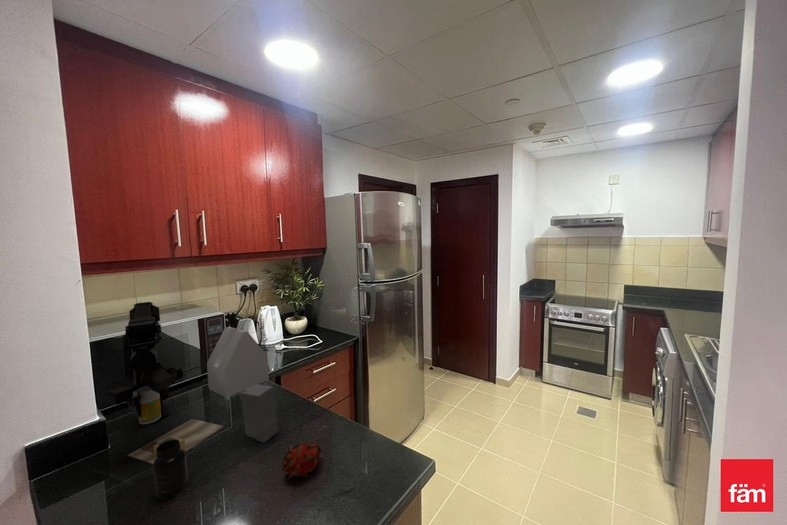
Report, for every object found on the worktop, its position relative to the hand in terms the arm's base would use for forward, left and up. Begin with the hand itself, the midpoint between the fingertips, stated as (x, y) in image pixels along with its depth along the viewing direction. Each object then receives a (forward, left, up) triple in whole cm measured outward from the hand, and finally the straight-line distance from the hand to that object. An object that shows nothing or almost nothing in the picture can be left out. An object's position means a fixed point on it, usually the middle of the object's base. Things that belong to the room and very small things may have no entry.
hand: (149, 411), depth 94 cm
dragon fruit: (+50, +7, -13) cm, 52 cm away
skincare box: (+27, +16, -13) cm, 34 cm away
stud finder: (+8, 0, -11) cm, 14 cm away
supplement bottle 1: (0, 0, -3) cm, 3 cm away
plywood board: (+4, +5, -12) cm, 14 cm away
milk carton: (-11, +43, -13) cm, 46 cm away
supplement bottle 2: (+22, -9, -13) cm, 27 cm away
